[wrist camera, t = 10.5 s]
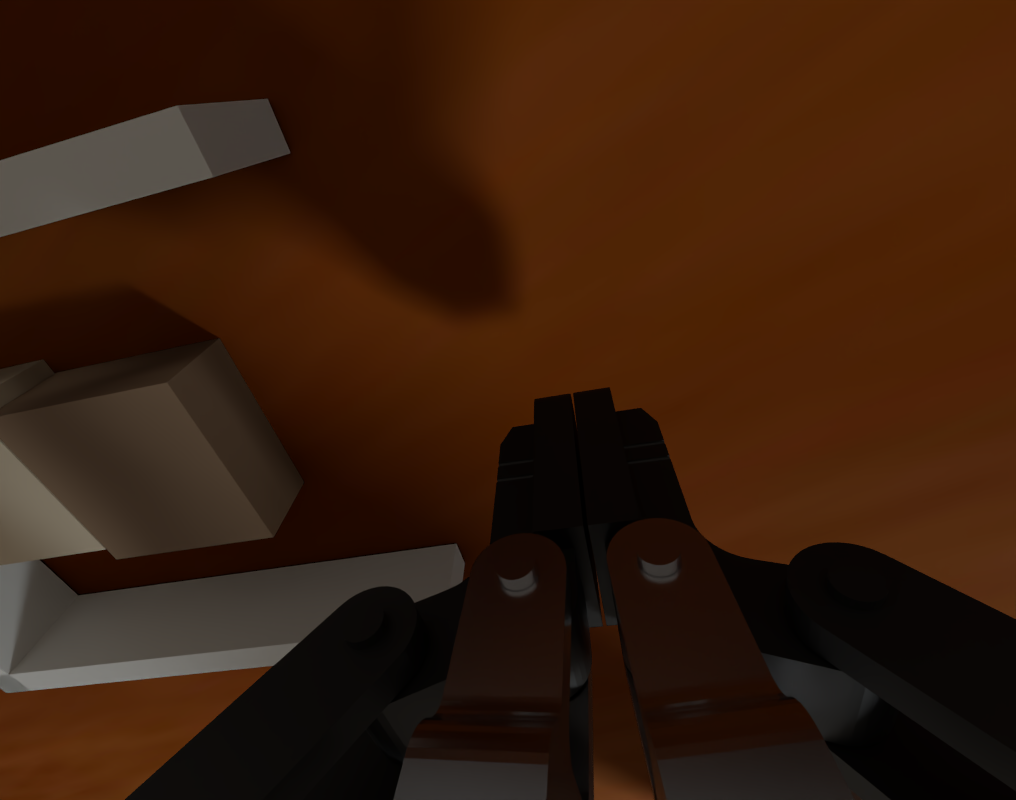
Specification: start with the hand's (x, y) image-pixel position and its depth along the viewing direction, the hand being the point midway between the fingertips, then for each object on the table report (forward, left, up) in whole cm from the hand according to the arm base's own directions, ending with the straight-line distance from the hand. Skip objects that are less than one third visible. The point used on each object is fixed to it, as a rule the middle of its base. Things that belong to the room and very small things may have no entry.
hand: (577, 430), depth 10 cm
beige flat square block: (+11, 0, -3) cm, 12 cm away
